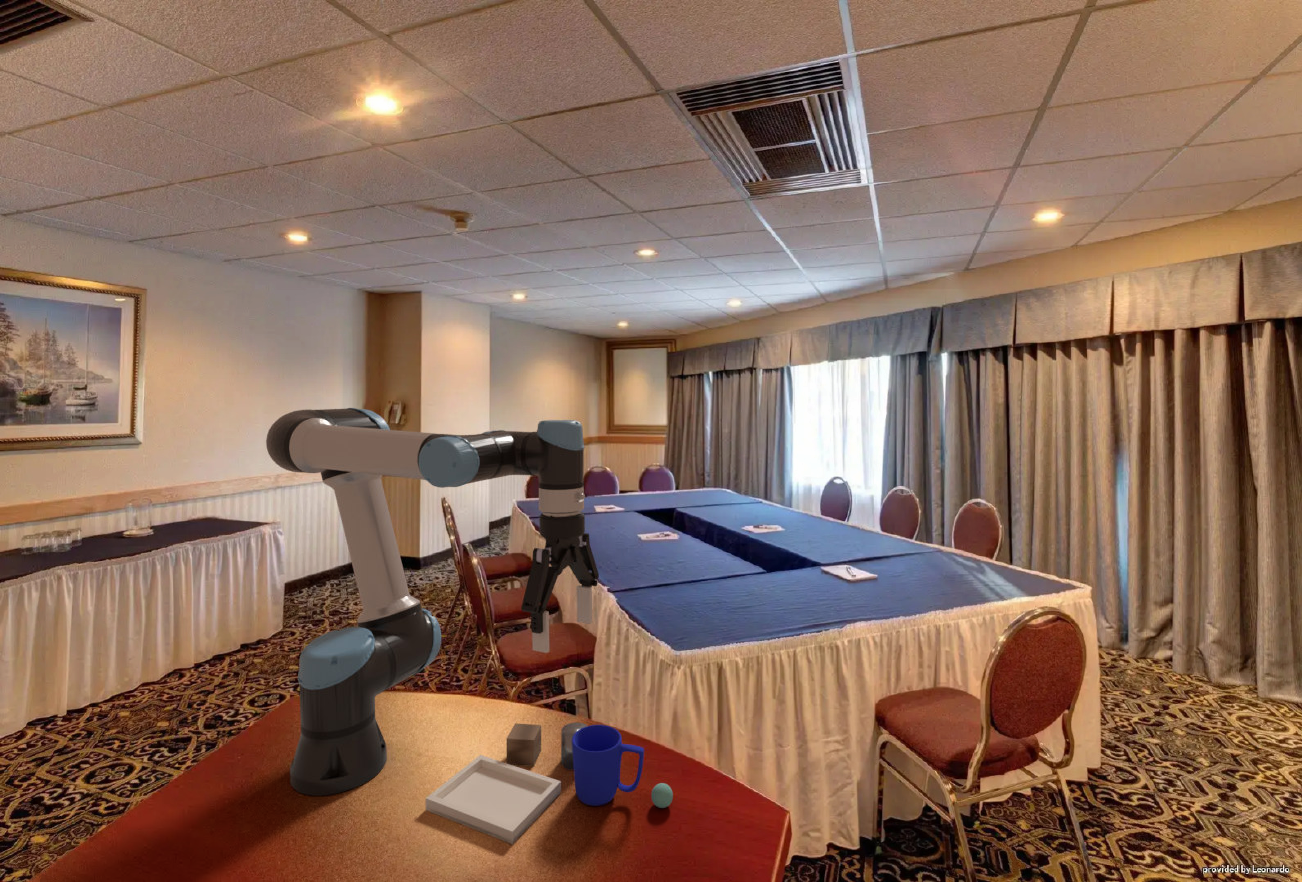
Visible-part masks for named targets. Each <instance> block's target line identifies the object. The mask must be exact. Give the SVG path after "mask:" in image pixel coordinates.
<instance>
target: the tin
mask: <svg viewBox="0 0 1302 882" xmlns="http://www.w3.org/2000/svg"><path fill="white" fill-rule="evenodd" d="M587 726H588V725H587V724H585V723H583V722H569V723H567V724H565V725H563V727H562V728H561V731H560V732H561V733H560V734H561V736H560V737H561V739H560V741H561V742H560V749H561V750H560V763H561V764H560V765H561V766H562V767H563V769H564V768H565V769H566V770H570V771H574V764H573V751H572V737H573V735H574V734H575V733H576V732H577V731H578V730H580V729H581V728H584V727H587Z"/></svg>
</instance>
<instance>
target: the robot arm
mask: <svg viewBox="0 0 1302 882" xmlns="http://www.w3.org/2000/svg"><path fill="white" fill-rule="evenodd" d="M583 431H584V430H583V425H582V423H581V421H578V420H574V419H561V420H560V419H557V420H556V419H548V420H547V419H546V420H541V421H539V422H538V424H537V429H536V431H514V430H513V431H512V430H503V429H502V430H501V429H500V430H492V431H489V430H488V431H483V432H482V433H477V434H451V433H450V434H447V433H436V432H435V433H434V432H420V431H409V430H394V429H390V426H389V425H388V423H387V422H386V420H385V419H384V418H383V417H382V416H381V415H379V414H378V413H376V412H374V411H373V410H370V409H364V408H355V407H348V408H329V409H299V410H294V411H291V412H288V413H285V414H284V415H282V416H280V417H279V418H278V419H277V420H275V421H274V422H273V423H272V424H271V426H270V427H269V429H268V432H267V434H266V440H265V443H266V449H267V453H268V455H269V457H270V458H271V460H272V461H273V462H274V463H275V465H278V467H280V468H282V469H284V470H285V471H288V472H293V473H299V474H300V473H302V474H303V473H307V474H319V473H320V476H321V479H322V483H323V484H324V485H326V486H328V487H329V488H332V490H333V492H334V495H335V499H336V503H337V508H338V511H339V516H340V519H341V524H342V528H343V533H344V536H345V540H346V545H347V548H348V552H349V556H350V560H351V564H352V569H353V573H354V577H355V582H356V585H357V589H358V592H359V597H360V601H361V605H362V606H361V607H362V612H361V613H360V614H359V616H358V618H357V620H356V623H357V626H351V627H350V626H349V627H344V628H343V627H342V629H340V630H337V629H334V630H332V631H328V632H326V633H324V634H321V635H319V636H318V637H316V638H314V639H313V640H311V641H310V642H309V643H308V644H306V646H305V647H304V648H303V650H302V651H301V653H300V656H299V661H298V662H299V667H298V669H299V670H298V674H297V680H298V683H299V707H300V710H299V711H300V712H299V713H300V718H299V719H300V736H299V740H298V743H297V747H296V749H295V753H294V757H293V758H292V761H291V764H290V767H289V768H290V769H289V777H290V780H289V781H290V785H291V787H292V788H293V789H294V790H295V791H297V792H298V793H300V794H303V795H307V796H314V797H315V796H317V797H319V796H329V795H335V794H341V793H345V792H347V791H349V790H353V789H356V788H357V787H360V786H362V785H363V784H366V783H367V782H369V781H370V780H372V779H373V778H375V777H376V776H377V775H378V774H379V773H380V772H381V771H382V770H383V768H384V767H385V765H386V763H387V757H388V756H387V754H388V750H387V744H386V741H385V739H384V736H383V733H382V731H381V728H380V726H379V724H378V721H377V718H376V697H377V695H380V694H381V693H383V692H385V691H386V690H389V689H390V688H392V687H394V686H395V685H398V684H399V683H401V682H402V681H405V680H406V679H408V678H410V677H412V676H415V675H417V674H419V673H420V672H421V671H423V669H425V668H426V667H428V666H429V665H430V664H432V662H434V660H435V659H436V658H437V656H438V653H439V652H440V649H441V645H442V631H441V626H440V623H439V621H438V619H437V618H436V616H432V615H433V614H432V612H431V611H430V610H428V609H425V608H422V604H421V601H420V600H419V599H418V598H415V597H414V596H412V595H411V594H410V590H409V588H408V587H409V586H408V583H407V579H406V574H405V571H404V566H403V563H402V559H401V554H400V551H399V546H398V541H397V539H396V535H395V531H394V526H393V523H392V518H391V513H390V510H389V506H388V502H387V498H386V495H385V494H386V493H385V491H384V490H385V489H384V486H383V481H382V478H383V476H385V477H394V478H395V477H396V478H404V479H413V480H423V481H426V482H428V483H429V484H430V485H432V486H433V487H436V488H458V487H462V486H465V485H467V484H472V483H476V482H481V481H482V482H483V481H487V480H492V479H498V478H504V477H507V476H533V477H536V476H537V477H538V511H540V512H541V514H540V515H539V518H538V519H539V535H540V536H541V537H542V538H543V539H545V546H544V548H541V547H540V548H539V547H538V548H537V547H534V548H533V551H532V563H531V567H530V571H529V574H528V580H527V583H526V587H525V591H524V596H523V599H522V603H521V607H520V609H521V611H522V612H525V613H526V612H527V613H530V625H531V627H530V628H531V629H530V630H531V634H532V635H531V636H532V637H531V638H532V651H536V652H540V653H545V654H548V653H549V652H550V616H549V615H550V613H549V610H548V611H547V610H546V609H547V606H548V605H549V601H550V599H551V596H552V594H553V590H554V587H555V585H556V582H557V579H558V577H559V576H560V575H562V573H563V571H564V570H565V569H566V568H567V567H569V568H570V570H571V572H572V573H573V575H574V576H575V578H576V580H577V581H578V584H579V585H578V584H577V586H576V622H577V623H582V624H588V625H590V624H593V590H592V589H593V587H597V586H598V583H599V580H598V579H599V577H600V574H599V570H598V567H597V564H596V561H595V557H594V554H593V550H592V548H591V543H590V542H591V541H590V533H587V532H586V526H585V524H586V522H585V521H586V519H585V517H586V516H585V514H584V512H583V510H584V509H585V498H586V495H585V489H584V487H585V484H584V483H585V482H584V480H585V479H584V476H585V475H584V474H585V472H584V459H585V458H584V456H585V455H584V450H585V444H584V433H583Z"/></svg>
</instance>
